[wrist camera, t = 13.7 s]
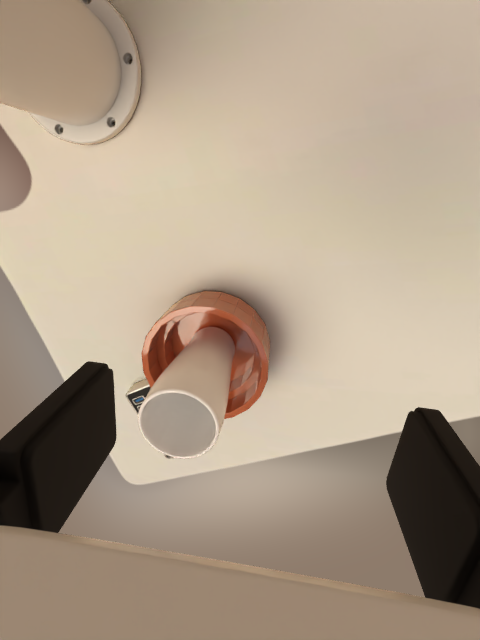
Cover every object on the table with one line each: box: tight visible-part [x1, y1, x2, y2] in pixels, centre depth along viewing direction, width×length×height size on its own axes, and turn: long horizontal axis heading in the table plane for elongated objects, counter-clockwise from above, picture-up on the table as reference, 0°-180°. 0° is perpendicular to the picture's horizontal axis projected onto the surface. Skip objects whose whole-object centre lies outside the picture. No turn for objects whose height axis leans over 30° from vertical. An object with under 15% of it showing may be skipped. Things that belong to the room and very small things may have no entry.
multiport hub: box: [126, 379, 173, 459], centre depth 45 cm, size 4×11×2 cm, turn 26°
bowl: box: [142, 291, 270, 419], centre depth 38 cm, size 13×13×6 cm
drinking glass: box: [138, 327, 235, 458], centre depth 34 cm, size 7×7×15 cm
